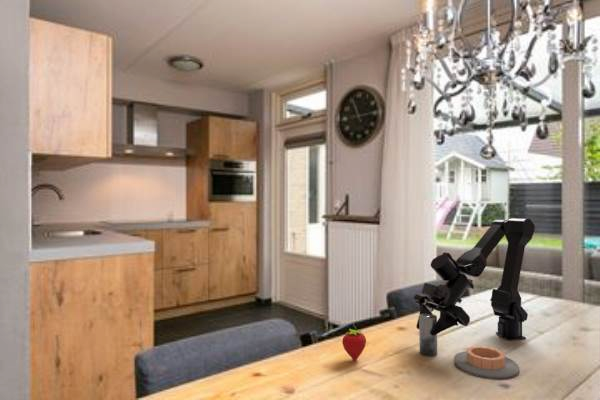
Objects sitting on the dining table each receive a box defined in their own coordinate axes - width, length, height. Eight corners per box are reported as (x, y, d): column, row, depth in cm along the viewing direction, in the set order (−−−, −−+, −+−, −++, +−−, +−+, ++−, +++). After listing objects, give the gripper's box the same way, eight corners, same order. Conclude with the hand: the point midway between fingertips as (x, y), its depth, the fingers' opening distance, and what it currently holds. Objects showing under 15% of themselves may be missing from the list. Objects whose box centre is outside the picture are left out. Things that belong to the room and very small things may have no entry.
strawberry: (337, 360, 111) (337, 325, 111) (356, 353, 116) (355, 319, 116) (352, 366, 106) (352, 330, 106) (371, 359, 111) (370, 324, 111)
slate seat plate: (493, 352, 115) (493, 340, 115) (533, 376, 100) (533, 362, 100) (443, 356, 113) (442, 344, 113) (476, 381, 97) (476, 367, 97)
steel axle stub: (432, 349, 118) (431, 313, 118) (440, 355, 113) (440, 317, 113) (416, 350, 118) (416, 314, 118) (424, 356, 113) (424, 318, 113)
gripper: (417, 268, 126) (389, 306, 121) (461, 278, 108) (431, 323, 104) (436, 290, 129) (409, 328, 124) (483, 303, 112) (454, 348, 107)
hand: (424, 331), depth 115 cm, fingers open, 6 cm apart
